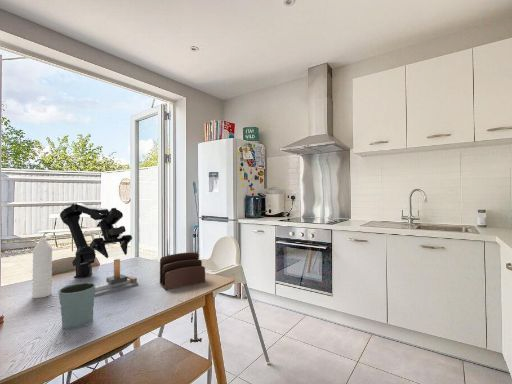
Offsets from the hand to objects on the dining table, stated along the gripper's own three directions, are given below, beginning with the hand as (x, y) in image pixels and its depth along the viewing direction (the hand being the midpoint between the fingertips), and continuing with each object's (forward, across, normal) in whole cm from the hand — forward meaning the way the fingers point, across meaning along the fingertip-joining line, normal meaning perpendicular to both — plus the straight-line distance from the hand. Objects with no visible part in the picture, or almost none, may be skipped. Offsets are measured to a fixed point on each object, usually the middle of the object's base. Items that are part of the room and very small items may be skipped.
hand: (117, 256), depth 127 cm
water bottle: (+4, -25, +19) cm, 31 cm away
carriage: (+12, -3, +2) cm, 12 cm away
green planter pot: (+29, -29, -14) cm, 43 cm away
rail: (+14, -8, +4) cm, 16 cm away
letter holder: (+27, +18, -13) cm, 35 cm away
